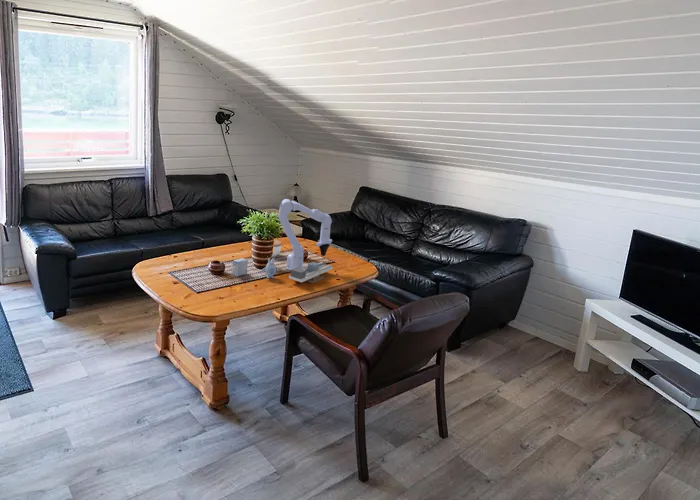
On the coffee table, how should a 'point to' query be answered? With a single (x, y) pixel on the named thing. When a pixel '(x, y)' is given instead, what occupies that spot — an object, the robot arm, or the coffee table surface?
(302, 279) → the balance beam
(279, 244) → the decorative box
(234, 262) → the medicine box
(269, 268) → the toy figure
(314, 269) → the rider
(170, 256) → the coffee table surface
